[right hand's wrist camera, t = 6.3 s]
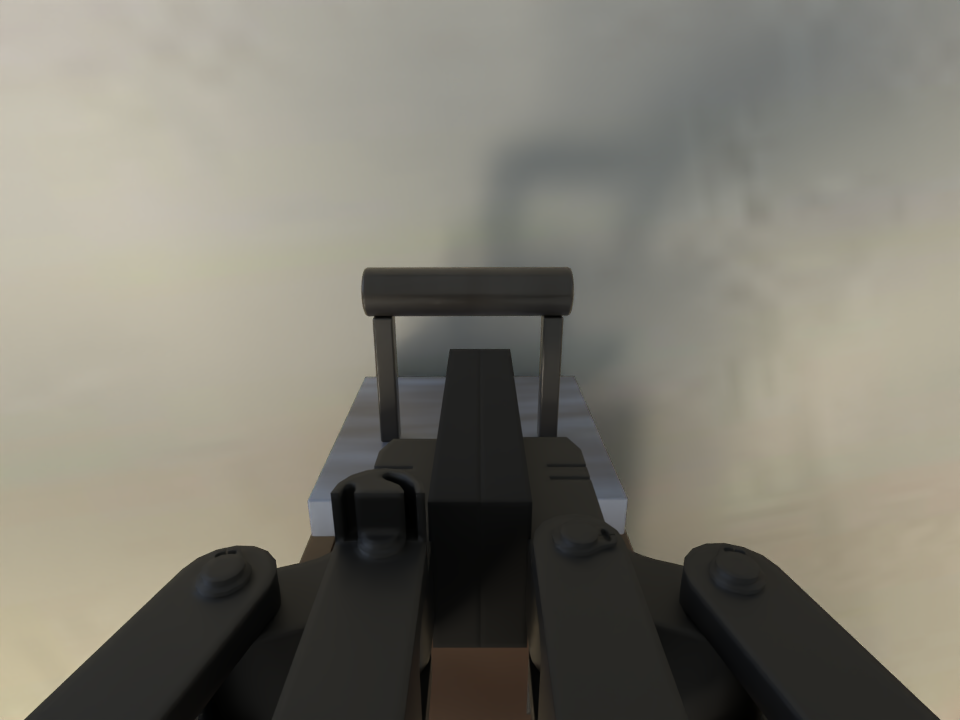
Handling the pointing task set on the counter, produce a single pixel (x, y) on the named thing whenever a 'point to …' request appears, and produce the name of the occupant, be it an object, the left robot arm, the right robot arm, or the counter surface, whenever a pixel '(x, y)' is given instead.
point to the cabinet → (468, 671)
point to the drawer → (418, 400)
